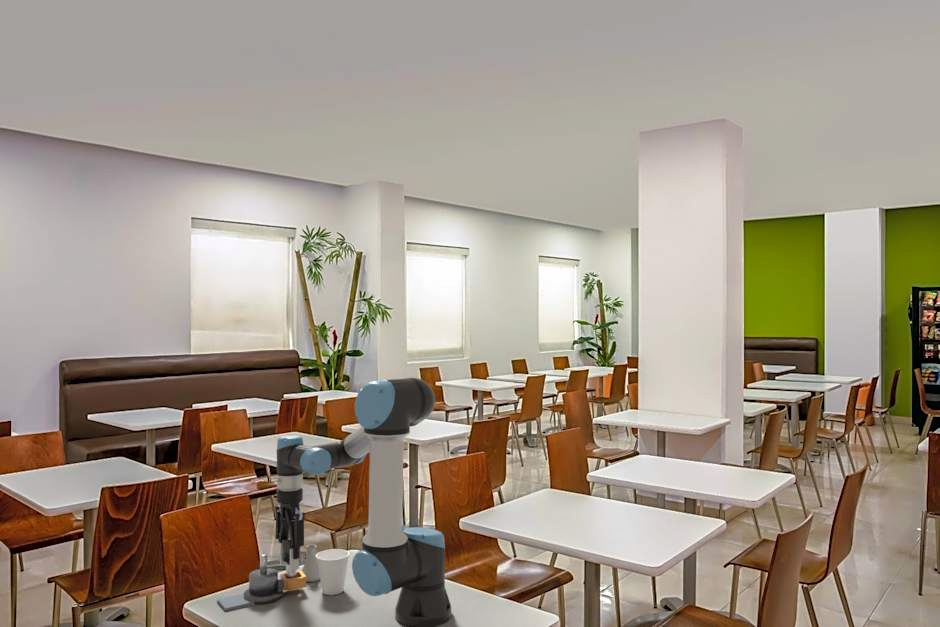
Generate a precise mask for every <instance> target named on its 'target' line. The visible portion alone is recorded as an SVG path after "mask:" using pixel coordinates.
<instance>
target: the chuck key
mask: <svg viewBox="0 0 940 627" xmlns="http://www.w3.org/2000/svg"><path fill="white" fill-rule="evenodd" d="M289 547H291V539H290V538H289V537H288V539H283V540H282V551H283V561H284V562H286V565H285V571H286V572H285V573H286V577H287V579H291V578H297V571H298V569H296V570H292V571H290V548H289Z"/></svg>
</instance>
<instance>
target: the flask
mask: <svg viewBox="0 0 940 627" xmlns="http://www.w3.org/2000/svg"><path fill="white" fill-rule="evenodd" d="M305 549H306V556H305V560H304V564H303V566H302V569H301V571H302V572H303V573H304V574H305V576H306V583H307V582H308V583H313V582H315V583H316V582H318V581H321V580H320V574H319V569H318V563H317V558H316V554H317V550H316V549H317V544H308V545H306V546H305Z"/></svg>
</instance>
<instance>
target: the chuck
mask: <svg viewBox="0 0 940 627" xmlns="http://www.w3.org/2000/svg"><path fill="white" fill-rule="evenodd" d="M306 587H307V582H306V576H305V574H304V573H303V572H302V570H297V578H291V579H287V577H286V572H283V573H280V574H279V571H278V569H274V568H269V567H268V554H266V553H262V554H260V555H259V569H255V570H252V571H251V572H249V574H248V589H249V593H250V594H251V595H254V596H266V595H270V594H273V593H275V592H276V591H277V590H282V589H283V592H284V591H294V590H298V589H304V588H306Z"/></svg>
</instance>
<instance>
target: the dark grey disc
mask: <svg viewBox="0 0 940 627" xmlns="http://www.w3.org/2000/svg"><path fill="white" fill-rule="evenodd" d="M243 593H244V598H245V599H246V600H248V601H254V605H267V604H272V603H275V602H278V601H279V600H281V599H282V598H283V597H284V590H283V589H282V590H277V591H276V592H275V593H273V594H270V595H266V596H254V595H251V594H250V593H249V588H248V589H246V590H245V591H244V592H243Z"/></svg>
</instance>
